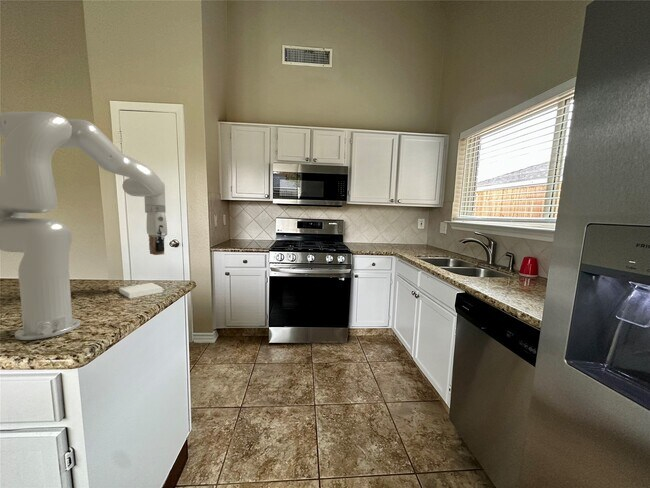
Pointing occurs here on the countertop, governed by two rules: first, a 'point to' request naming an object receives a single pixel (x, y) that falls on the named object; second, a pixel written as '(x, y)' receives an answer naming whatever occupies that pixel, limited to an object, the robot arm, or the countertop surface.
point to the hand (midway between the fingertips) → (156, 250)
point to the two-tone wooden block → (154, 246)
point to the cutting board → (140, 290)
